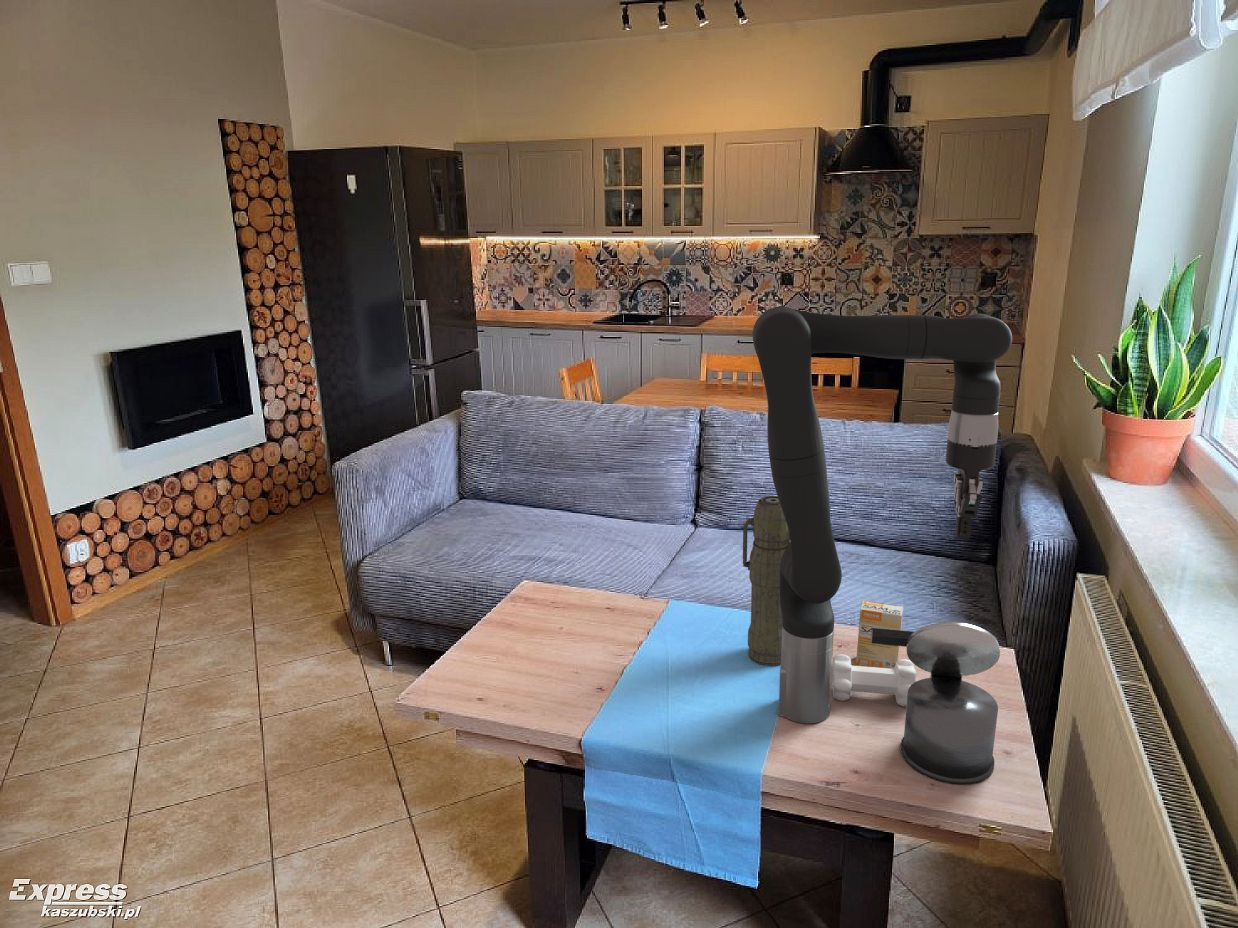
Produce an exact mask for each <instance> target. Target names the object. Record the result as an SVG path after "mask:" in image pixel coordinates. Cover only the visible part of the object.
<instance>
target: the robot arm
mask: <svg viewBox="0 0 1238 928" xmlns="http://www.w3.org/2000/svg"><path fill="white" fill-rule="evenodd" d="M752 342H753V347H754V351H755V353H756V356H757V359H758V363H759V366H760V371H761V374H762V379H763V383H764V387H765V394H766V399H767V430H766V431H767V448H768V449H767V450H768V456H769V462H770V463H769V464H770V470H771V471H770V472H771V477H772V481H773V486H774V489H775V493H776V496H777V497H778V499H779V503H780V506H781V508H782V511H783V514H784V517H785V520H786V523H787V526H788V530H789V535H790V545H789V546H788V547H787V548H786V550H785V551H784V553H783V556H782V559H781V564H780V607H781V613H782V645H781V665H780V666H779V667H780V668H779V681H778V683H779V686H778V716H779V717H785V718H787V719H789V720H790V721H792V722H795V723H800V724H817V723H821V722H823V721H825V720H826V719H827V718H828V717H829V716H830V709H831V693H832V692H831V691H832V676H833V672H832V667H833V652H834V651H833V649H834V633H835V631H834V630H835V615H834V614H835V613H834V610H833V606H832V602H831V599H833V597H835V595H836V593H838V591H839V590H840V587H841V583H842V579H843V578H842V577H843V573H842V567H841V563H840V560H839V555H838V551H837V546H836V542H835V538H834V533H833V527H832V522H831V521H832V519H831V507H830V506H831V504H830V503H831V502H830V492H829V483H828V481H829V480H828V471H827V469H828V468H827V462H826V454H825V444H824V437H823V433H822V429H821V428H822V427H821V424H820V418H819V415H818V411H817V408H816V407H817V406H816V404H815V400H814V399H815V398H814V394H813V393H814V391H813V382H812V381H813V380H812V379H813V378H812V354H824V353H829V354H831V353H833V354H834V353H836V354H839V353H840V354H850V355H857V356H864V357H865V356H867V357H873V358H881V359H890V360H891V359H893V360H931V359H933V360H935V359H938V360H939V359H940V360H947V361H952V362H953V364H952V365H953V373H954V375H953V376H954V385H953V393H952V402H951V403H952V404H951V413H950V417H949V421H948V429H947V430H948V431H947V441H946V451H945V463H946V464H947V466H949V467H950V468H953V469H958V471H957V472H956V473H954V474H953V483H954V490H953V491H954V493H953V497H954V503H953V504H954V506H955V513H956V519H955V527H954V532H955V534H956V537H957V538H958V539H964V540H965V539H971V536H972V527H973V519H976V518H977V517H978V516H977V515H978V512H979V508H980V505H981V502H982V499H983V496H982V493H981V490H983V481H984V480H983V478H981V475H980V472H981V471H987V470H988V471H989V470H990V469H993V468H994V466H995V464H996V462H995V461H996V453H997V443H998V435H999V408H1000V398H1001V381H1000V380H999V377H998V375H997V371H996V369H997V366H996V365H997V360H998V359H1001V358H1002V357H1003V356H1005V354H1007V353H1008V351H1009V350H1010V348H1011V346H1012V344H1013V343H1012V342H1013V335H1012V331H1011V329H1010V327H1009V326H1008V325H1007V324H1006V322H1004V321H1003V320H1002V319H1000V318H997V317H994V316H991V315H988V314H985V313H973V314H969V315H967V316H965V317H962V318H961V317H959V318H958V317H957V318H956V317H955V318H953V317H952V318H947V317H941V316H938V315H937V316H936V315H929V314H891V315H889V314H887V315H886V314H883V315H881V314H880V315H842V314H829V313H828V314H826V313H818V312H812V311H811V312H810V311H806V310H799V309H795V308H791V307H788V306H787V307H786V306H776V307H775V306H774V307H772V308H768V309H767V310H766V311H764V312H763V313H761V315H760V316H759V317H758V318H757V319H756V321H755V323H754V325H753V329H752Z"/></svg>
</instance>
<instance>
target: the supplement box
mask: <svg viewBox="0 0 1238 928" xmlns="http://www.w3.org/2000/svg"><path fill="white" fill-rule="evenodd" d="M860 604H861V605H860V610H859V619H858V620H859V621H858V623H859V624H858V631H857V632H858V634H857V645H856V646H857V647H856V651H857V652H856V660H855V661H856V662H855V666H864V667H876V668H889V669H895V666H896V662H897V661H898V660H899V657H900V649H901V648H900V647H901V646H894V645H884V644H873V643H872V628H879V629H890V630H901V631H902V627H903V625H902V623H903V615H904V614H903V613H904V606H901V605H895V604H894V605H893V604H887V603H881V602H875V601H868V600H861V603H860Z"/></svg>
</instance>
